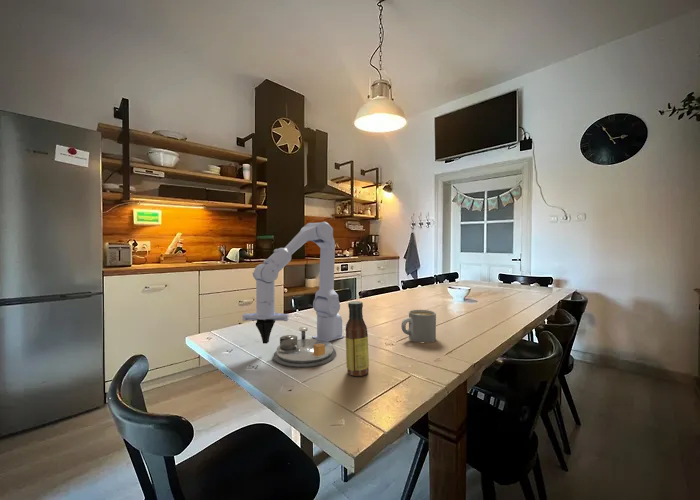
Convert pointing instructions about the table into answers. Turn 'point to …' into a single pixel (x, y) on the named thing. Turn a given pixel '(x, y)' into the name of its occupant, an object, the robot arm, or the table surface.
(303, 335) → the small grey dumbbell
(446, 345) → the table surface
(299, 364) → the turntable base
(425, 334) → the coffee mug
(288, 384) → the table surface
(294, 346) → the cover
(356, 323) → the sauce bottle
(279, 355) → the turntable
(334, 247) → the robot arm
